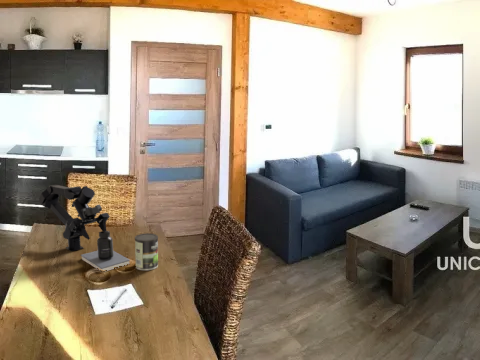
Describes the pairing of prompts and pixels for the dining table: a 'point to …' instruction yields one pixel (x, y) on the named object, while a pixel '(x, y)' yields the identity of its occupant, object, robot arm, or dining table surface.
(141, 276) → the dining table surface
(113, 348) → the dining table surface
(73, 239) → the robot arm
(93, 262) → the book
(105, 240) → the supplement bottle
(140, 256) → the coffee can
